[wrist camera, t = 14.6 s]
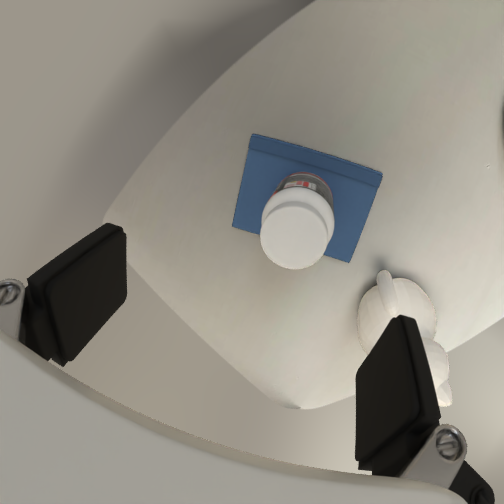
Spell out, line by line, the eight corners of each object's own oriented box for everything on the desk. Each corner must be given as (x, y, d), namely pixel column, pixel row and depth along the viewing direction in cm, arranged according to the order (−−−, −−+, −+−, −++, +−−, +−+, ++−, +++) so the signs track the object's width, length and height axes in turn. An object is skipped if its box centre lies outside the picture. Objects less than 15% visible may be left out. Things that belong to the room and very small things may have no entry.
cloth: (232, 225, 32) (230, 227, 32) (253, 133, 28) (251, 133, 27) (349, 261, 31) (349, 264, 30) (382, 173, 26) (383, 174, 26)
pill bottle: (273, 171, 28) (248, 198, 20) (332, 170, 27) (335, 196, 18) (277, 227, 31) (256, 274, 22) (333, 227, 29) (334, 276, 21)
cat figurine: (371, 348, 35) (377, 449, 22) (334, 271, 32) (332, 376, 19) (435, 323, 32) (466, 420, 18) (409, 238, 28) (457, 331, 15)
